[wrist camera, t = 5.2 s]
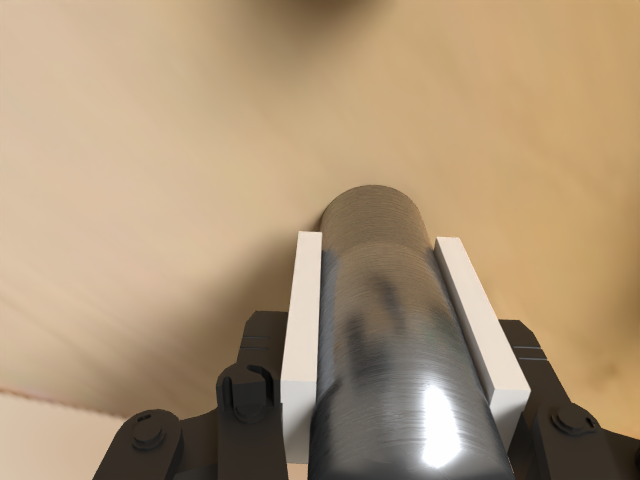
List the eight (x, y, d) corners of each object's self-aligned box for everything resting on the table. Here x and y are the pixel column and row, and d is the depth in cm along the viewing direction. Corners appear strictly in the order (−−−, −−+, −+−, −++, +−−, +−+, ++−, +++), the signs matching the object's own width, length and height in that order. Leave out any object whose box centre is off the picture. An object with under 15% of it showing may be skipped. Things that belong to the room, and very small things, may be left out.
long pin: (317, 274, 20) (304, 567, 10) (321, 182, 18) (308, 440, 8) (415, 277, 20) (496, 575, 10) (430, 187, 18) (547, 449, 8)
